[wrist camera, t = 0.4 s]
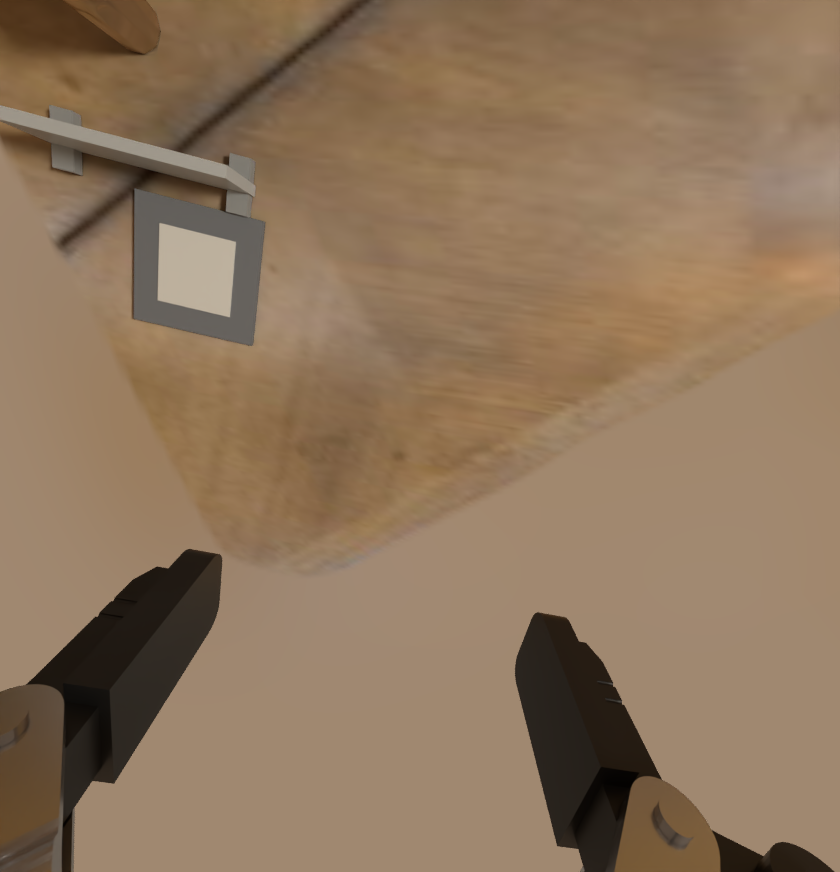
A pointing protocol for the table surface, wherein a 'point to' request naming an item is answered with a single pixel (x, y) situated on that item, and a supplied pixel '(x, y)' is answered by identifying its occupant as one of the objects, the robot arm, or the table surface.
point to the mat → (196, 267)
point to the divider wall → (134, 154)
